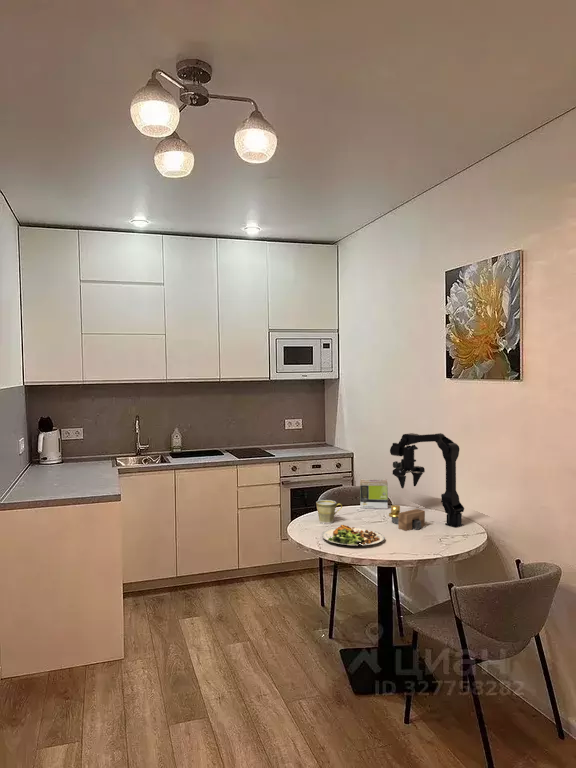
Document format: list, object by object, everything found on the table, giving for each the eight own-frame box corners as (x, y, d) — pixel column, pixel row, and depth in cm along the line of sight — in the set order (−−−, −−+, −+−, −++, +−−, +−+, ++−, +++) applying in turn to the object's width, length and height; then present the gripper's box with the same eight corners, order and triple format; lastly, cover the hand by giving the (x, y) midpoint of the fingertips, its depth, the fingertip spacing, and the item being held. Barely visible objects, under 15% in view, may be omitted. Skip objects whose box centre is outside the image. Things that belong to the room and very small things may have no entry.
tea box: (387, 505, 319) (387, 478, 319) (387, 509, 309) (388, 482, 309) (360, 504, 321) (360, 478, 321) (359, 508, 311) (360, 481, 311)
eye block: (424, 526, 275) (424, 511, 275) (406, 530, 268) (406, 515, 268) (416, 524, 279) (416, 509, 279) (398, 528, 272) (398, 512, 272)
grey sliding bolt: (423, 527, 272) (423, 511, 272) (414, 530, 268) (414, 513, 268) (395, 519, 286) (395, 503, 286) (386, 521, 283) (386, 505, 282)
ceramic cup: (316, 525, 277) (316, 504, 277) (315, 519, 287) (315, 499, 287) (343, 524, 278) (343, 504, 278) (340, 519, 288) (340, 499, 288)
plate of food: (338, 552, 236) (339, 538, 236) (311, 534, 262) (311, 521, 262) (396, 547, 247) (397, 533, 246) (364, 529, 272) (365, 517, 272)
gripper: (409, 454, 310) (409, 482, 310) (384, 457, 299) (384, 486, 299) (425, 456, 301) (425, 486, 301) (400, 459, 290) (400, 490, 290)
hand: (408, 487), depth 298 cm, fingers open, 9 cm apart
